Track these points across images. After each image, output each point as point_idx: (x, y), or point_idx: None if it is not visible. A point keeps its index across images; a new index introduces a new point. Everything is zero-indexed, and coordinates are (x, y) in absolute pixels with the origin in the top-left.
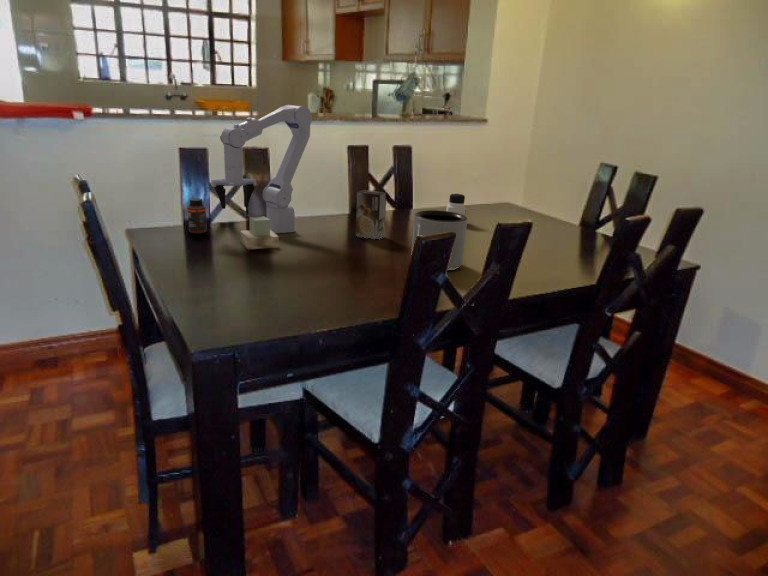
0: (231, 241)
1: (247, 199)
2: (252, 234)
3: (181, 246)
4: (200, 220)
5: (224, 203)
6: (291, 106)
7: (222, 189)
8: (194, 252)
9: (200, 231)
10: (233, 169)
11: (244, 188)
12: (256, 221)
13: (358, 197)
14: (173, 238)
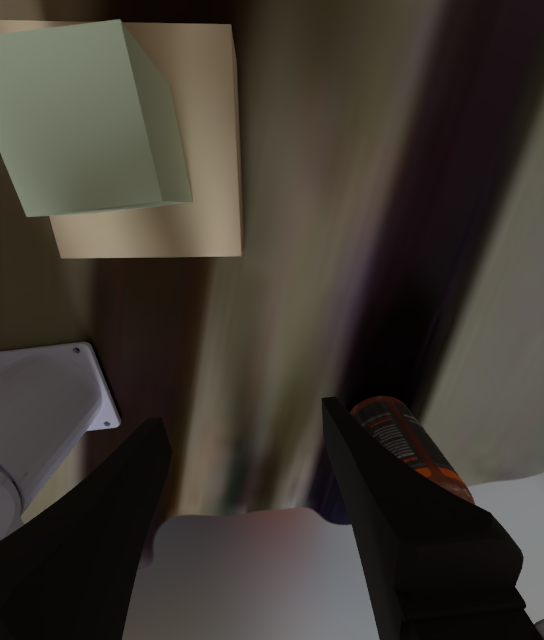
0: (285, 254)
1: (120, 464)
2: (181, 139)
3: (516, 214)
4: (396, 433)
5: (340, 420)
6: None
7: (455, 534)
8: (512, 75)
9: (378, 399)
10: None
11: (97, 636)
12: (107, 29)
13: None
14: (490, 347)
